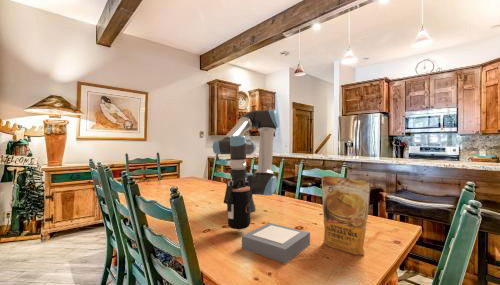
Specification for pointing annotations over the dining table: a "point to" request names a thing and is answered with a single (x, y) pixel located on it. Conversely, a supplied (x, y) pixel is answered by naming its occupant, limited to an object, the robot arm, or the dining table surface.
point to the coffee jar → (240, 208)
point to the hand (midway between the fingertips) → (239, 215)
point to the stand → (276, 242)
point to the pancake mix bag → (345, 213)
